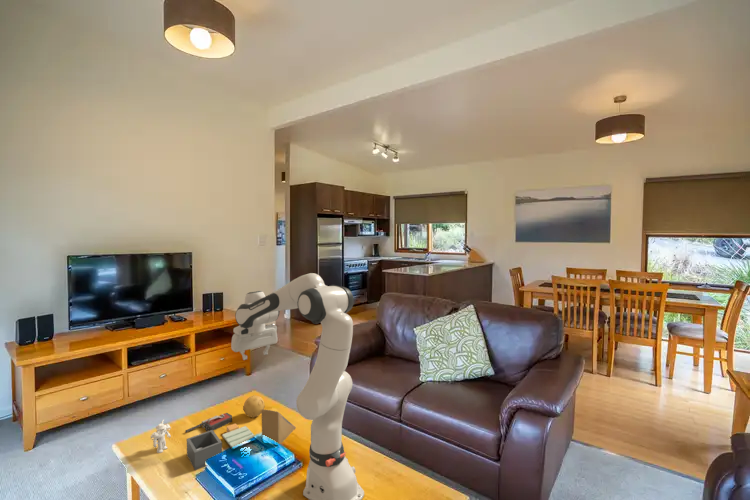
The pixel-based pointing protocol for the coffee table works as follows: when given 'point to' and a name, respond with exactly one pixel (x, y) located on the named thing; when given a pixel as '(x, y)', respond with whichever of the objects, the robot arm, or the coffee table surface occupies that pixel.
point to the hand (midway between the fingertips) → (255, 357)
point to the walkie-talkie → (214, 422)
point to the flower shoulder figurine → (160, 436)
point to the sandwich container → (275, 425)
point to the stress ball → (253, 406)
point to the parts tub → (203, 448)
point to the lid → (237, 434)
